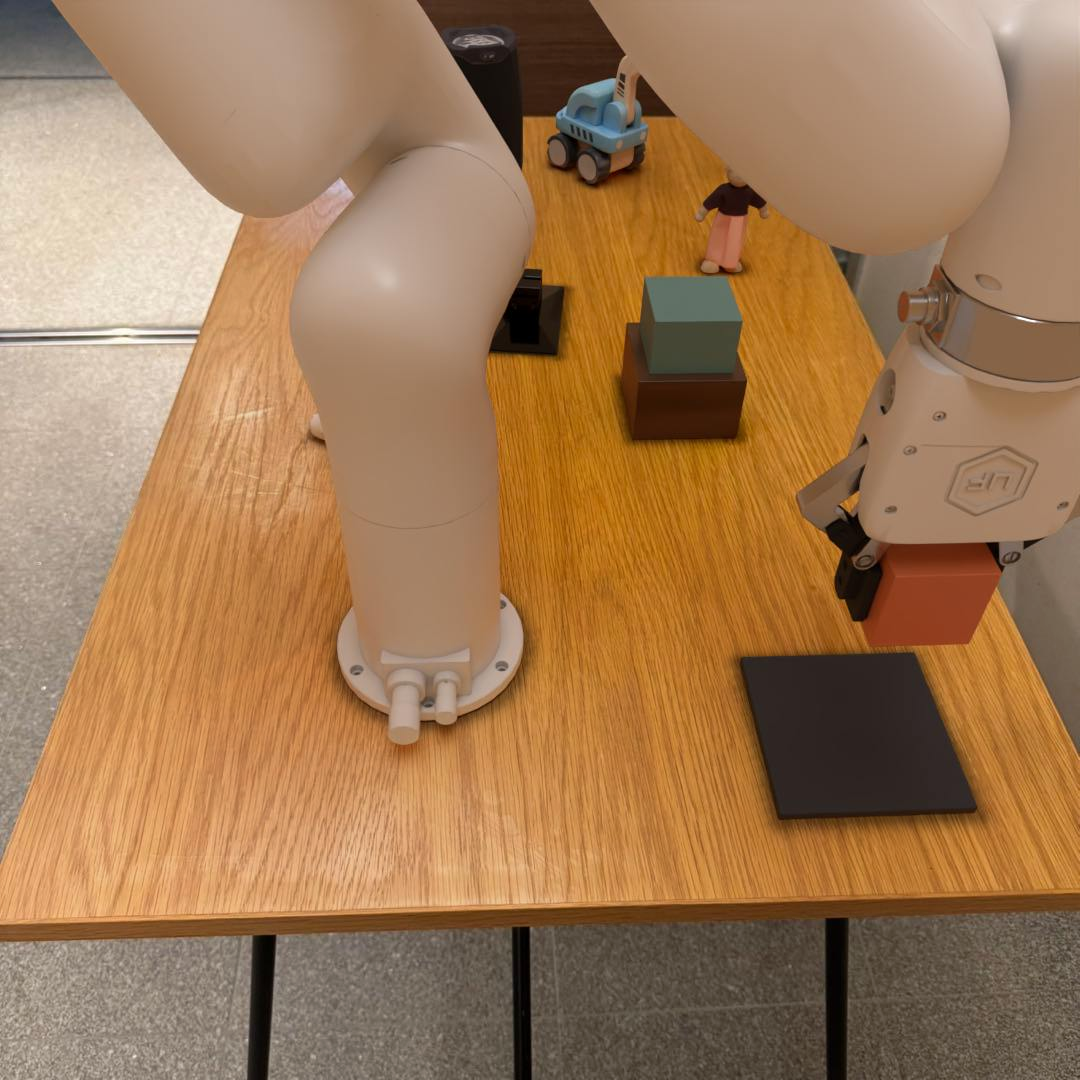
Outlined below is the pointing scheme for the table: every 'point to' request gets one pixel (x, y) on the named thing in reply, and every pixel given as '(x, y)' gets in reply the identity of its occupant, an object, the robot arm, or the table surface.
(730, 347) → the middle block
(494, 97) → the portable speaker
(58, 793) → the table surface
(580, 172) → the toy excavator
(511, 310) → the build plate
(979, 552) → the orange-red cube
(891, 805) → the mat
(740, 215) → the grandmother figurine
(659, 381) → the base block
